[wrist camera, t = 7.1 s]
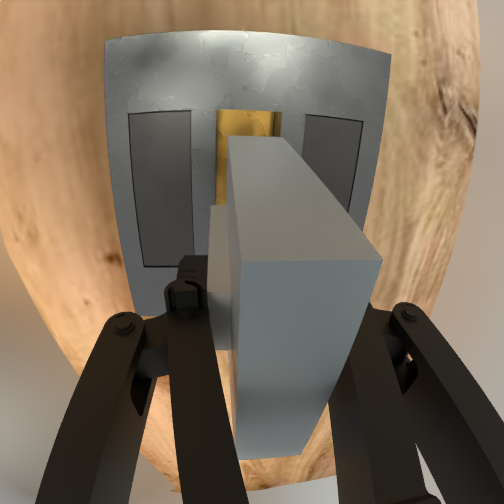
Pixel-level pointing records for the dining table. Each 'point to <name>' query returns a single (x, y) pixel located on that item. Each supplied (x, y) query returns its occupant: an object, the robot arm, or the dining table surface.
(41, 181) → the dining table surface
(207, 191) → the panel
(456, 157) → the dining table surface
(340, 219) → the panel
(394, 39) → the dining table surface
